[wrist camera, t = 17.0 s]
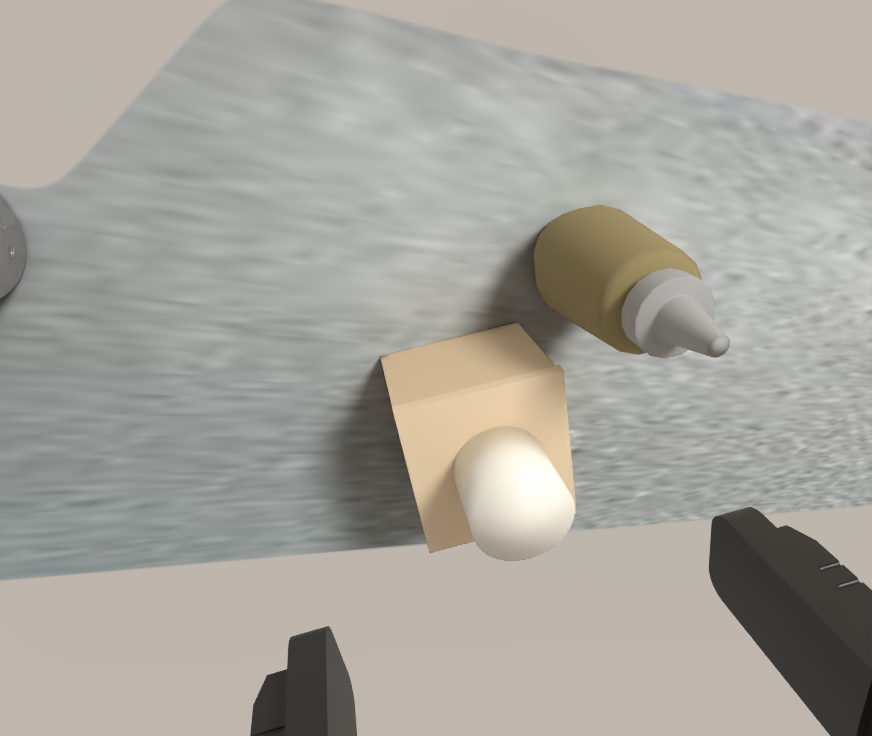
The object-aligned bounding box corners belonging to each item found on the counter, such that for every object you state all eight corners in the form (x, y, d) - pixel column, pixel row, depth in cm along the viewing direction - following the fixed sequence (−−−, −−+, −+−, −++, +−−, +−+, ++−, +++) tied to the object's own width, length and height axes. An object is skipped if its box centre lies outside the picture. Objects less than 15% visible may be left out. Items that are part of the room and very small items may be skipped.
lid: (428, 545, 42) (429, 553, 41) (391, 406, 37) (393, 413, 36) (572, 506, 43) (576, 513, 42) (558, 365, 37) (563, 370, 37)
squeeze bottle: (512, 303, 44) (623, 424, 28) (524, 194, 40) (659, 261, 24) (609, 302, 45) (767, 416, 29) (629, 197, 42) (820, 262, 26)
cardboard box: (411, 478, 49) (427, 544, 42) (380, 356, 44) (392, 407, 37) (533, 446, 50) (568, 504, 43) (517, 322, 45) (555, 365, 38)
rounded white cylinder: (449, 506, 40) (466, 564, 35) (457, 427, 37) (478, 479, 32) (535, 501, 41) (564, 557, 36) (550, 425, 38) (583, 474, 33)
